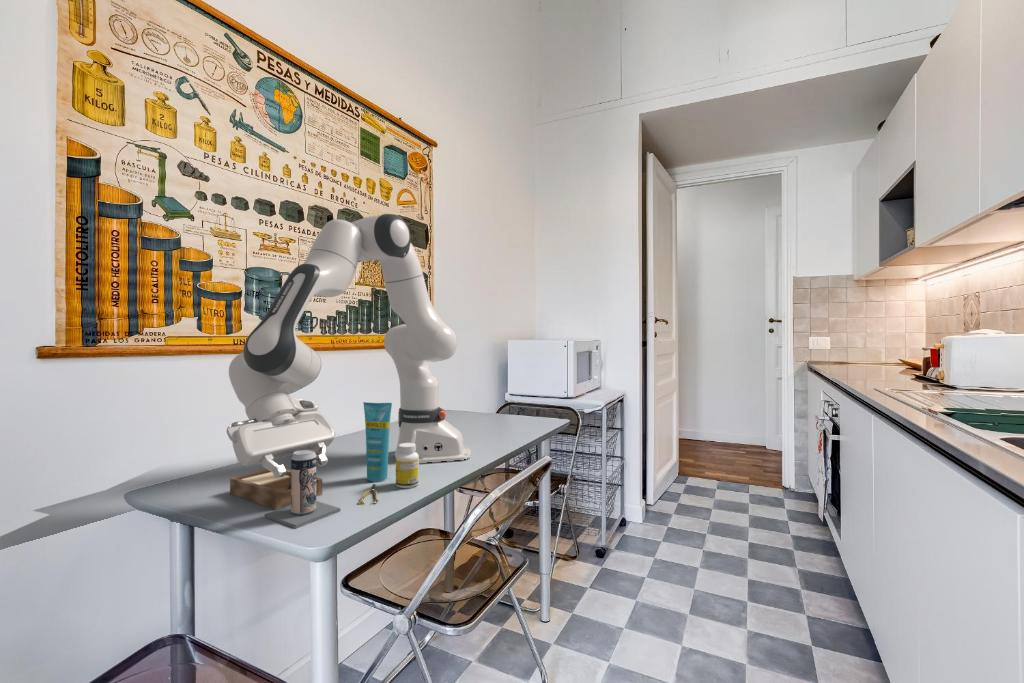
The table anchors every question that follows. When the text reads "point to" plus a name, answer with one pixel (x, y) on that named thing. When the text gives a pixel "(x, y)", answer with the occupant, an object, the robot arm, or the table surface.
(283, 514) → the slate coaster
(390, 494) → the table surface
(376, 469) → the tube
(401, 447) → the supplement bottle
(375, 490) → the tongs
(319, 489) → the walnut organizer tray
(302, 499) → the beer can
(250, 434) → the robot arm
